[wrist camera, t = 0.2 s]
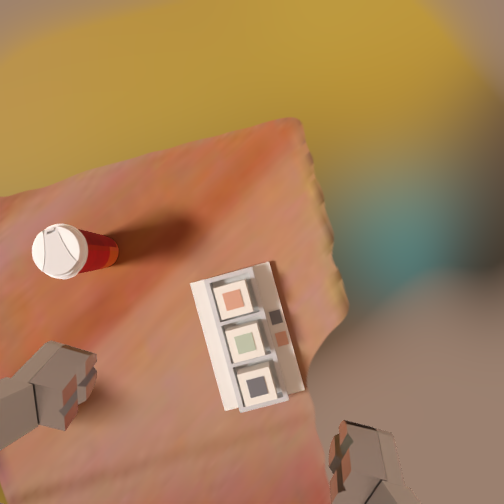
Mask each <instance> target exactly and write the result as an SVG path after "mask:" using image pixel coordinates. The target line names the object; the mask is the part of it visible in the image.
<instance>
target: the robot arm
mask: <svg viewBox="0 0 504 504" xmlns="http://www.w3.org/2000/svg"><path fill="white" fill-rule="evenodd" d="M96 362H97V356H96V354H95V353H92V352H89V351H85V350H82V349H79V348H75V347H72V346H69V345H65V344H61V343H58V342H54V341H49V342H47V343H45V344H44V345H43V346H42V347H41V348H40V349H39V350H38V351H37V352H36V353H35V354H34V355H33V356H32V357H31V358H30V359H29V360H28V361H27V362H26V363H25V364H24V365H23V366H22V367H21V368H20V370H19V371H18V372H17V373H16V374H15V375H14V376H13V377H12V378H8V377H5V378H3V379H1V380H0V450H2V449H3V448H5V447H7V446H8V445H10V444H11V443H13V442H14V441H16V440H18V439H19V438H21V437H22V436H24V435H25V434H27V433H28V432H30V431H32V430H33V429H35V428H36V427H38V425H43V426H47V427H51V428H55V429H59V430H63V431H66V429H67V428H68V426H69V425H70V423H71V422H72V421H73V419H74V418H75V416H76V415H77V413H78V404H80V403H82V402H84V401H86V400H87V399H88V397H89V395H90V394H91V392H92V390H93V388H94V386H95V383H96V378H97V371H96V369H95V368H94V367H93V366H94V365H95V363H96ZM329 468H330V469H331V471H332V473H333V474H334V475H333V477H332V479H331V480H330V497H331V504H422V503H421V502H420V500H419V499H418V498H417V496H416V495H415V494H414V492H413V491H412V490H411V488H408V487H406V486H405V482H404V478H403V474H402V470H401V465H400V461H399V457H398V452H397V449H396V444H395V439H394V436H393V434H392V433H391V432H387V431H383V430H380V429H375V428H373V427H370V426H365V425H361V424H358V423H354V422H349V421H346V420H343V421H342V422H341V424H340V426H339V434H337V435H335V436H334V438H333V440H332V442H331V445H330V450H329ZM0 504H3V503H0Z"/></svg>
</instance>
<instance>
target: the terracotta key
mask: <svg viewBox="0 0 504 504" xmlns="http://www.w3.org/2000/svg"><path fill="white" fill-rule="evenodd" d="M213 290H214V293H215V297H216V301H217V304H218V308H219V312H220V315H221V319H222V320H224V319H228V318H231V317H235V316H239V315H242V314H246V313H250V312H253V311H254V307H253V303H252V300H251V296H250V292H249V289H248V285H247V282H246V279H243V280H239V281H235V282H232V283H228V284H224V285H221V286H217V287H215V288H213Z"/></svg>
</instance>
